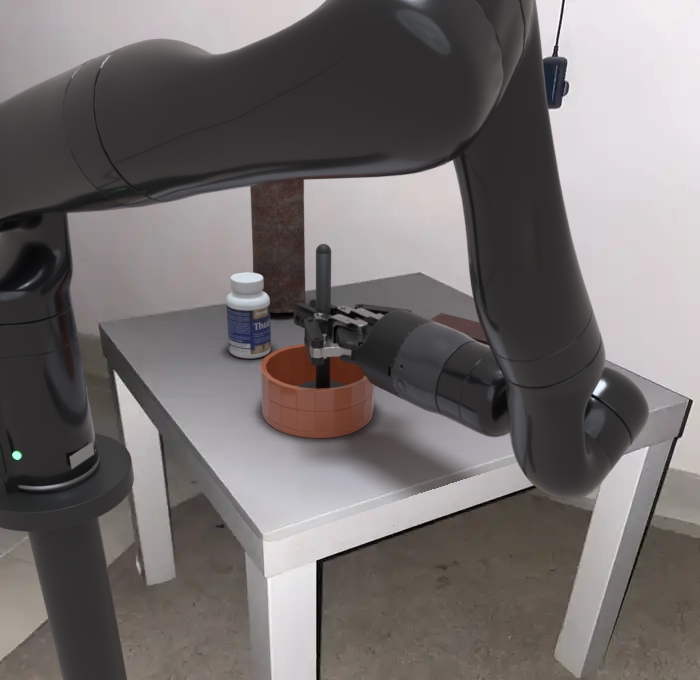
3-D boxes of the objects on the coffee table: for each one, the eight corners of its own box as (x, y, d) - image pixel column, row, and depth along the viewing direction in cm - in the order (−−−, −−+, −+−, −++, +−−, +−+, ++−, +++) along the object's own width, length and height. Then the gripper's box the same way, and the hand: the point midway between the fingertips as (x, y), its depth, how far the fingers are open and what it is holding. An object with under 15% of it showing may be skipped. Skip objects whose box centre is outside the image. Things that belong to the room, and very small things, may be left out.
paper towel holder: (308, 423, 80) (307, 255, 71) (286, 400, 85) (282, 239, 76) (360, 413, 83) (365, 248, 73) (335, 390, 87) (338, 233, 78)
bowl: (288, 448, 78) (287, 399, 76) (246, 398, 88) (244, 353, 85) (392, 424, 83) (395, 378, 80) (342, 380, 92) (343, 337, 90)
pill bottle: (260, 362, 96) (258, 286, 91) (221, 356, 97) (216, 280, 92) (278, 346, 100) (276, 273, 95) (240, 340, 102) (236, 268, 97)
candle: (292, 324, 107) (290, 173, 97) (245, 316, 110) (238, 167, 99) (313, 306, 114) (313, 162, 103) (268, 299, 116) (264, 157, 105)
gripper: (479, 307, 71) (354, 262, 82) (371, 342, 63) (248, 288, 74) (470, 381, 75) (352, 329, 86) (367, 423, 67) (251, 360, 78)
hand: (304, 310), depth 80 cm, fingers closed on paper towel holder, 1 cm apart
